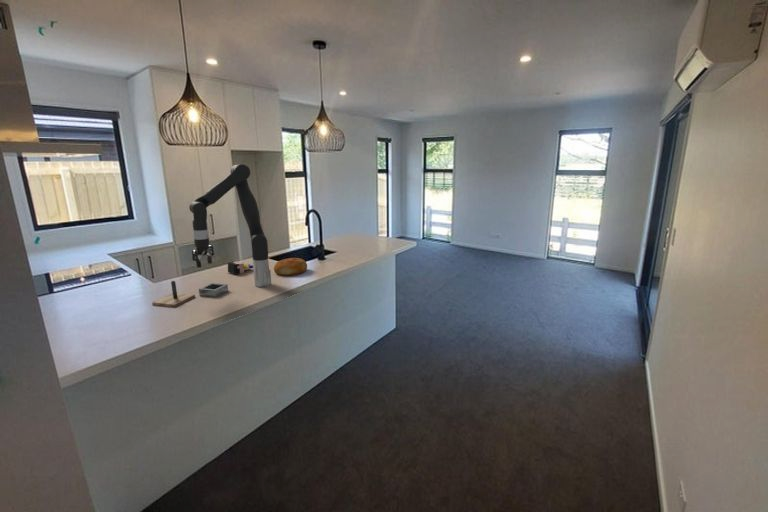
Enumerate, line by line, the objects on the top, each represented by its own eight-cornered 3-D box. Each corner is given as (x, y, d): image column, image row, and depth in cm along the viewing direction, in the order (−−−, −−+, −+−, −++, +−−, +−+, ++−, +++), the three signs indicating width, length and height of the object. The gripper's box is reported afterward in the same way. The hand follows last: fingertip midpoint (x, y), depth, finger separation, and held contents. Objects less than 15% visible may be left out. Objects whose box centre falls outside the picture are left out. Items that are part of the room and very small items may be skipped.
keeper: (195, 297, 197) (192, 278, 194) (174, 307, 183) (171, 286, 180) (174, 295, 200) (171, 276, 197) (152, 304, 186) (149, 284, 183)
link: (228, 290, 208) (227, 284, 207) (216, 297, 198) (215, 290, 197) (212, 289, 210) (211, 283, 209) (199, 295, 200) (198, 289, 199)
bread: (274, 268, 254) (273, 255, 252) (306, 266, 261) (305, 254, 259) (274, 278, 233) (273, 264, 231) (309, 275, 240) (308, 261, 237)
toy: (255, 262, 247) (235, 265, 235) (254, 272, 248) (235, 274, 236) (245, 260, 254) (226, 262, 242) (245, 269, 255) (226, 271, 243)
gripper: (198, 240, 184) (201, 269, 188) (215, 235, 198) (218, 262, 202) (186, 239, 186) (189, 268, 190) (204, 234, 199) (207, 261, 203)
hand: (204, 265), depth 196 cm, fingers open, 8 cm apart
